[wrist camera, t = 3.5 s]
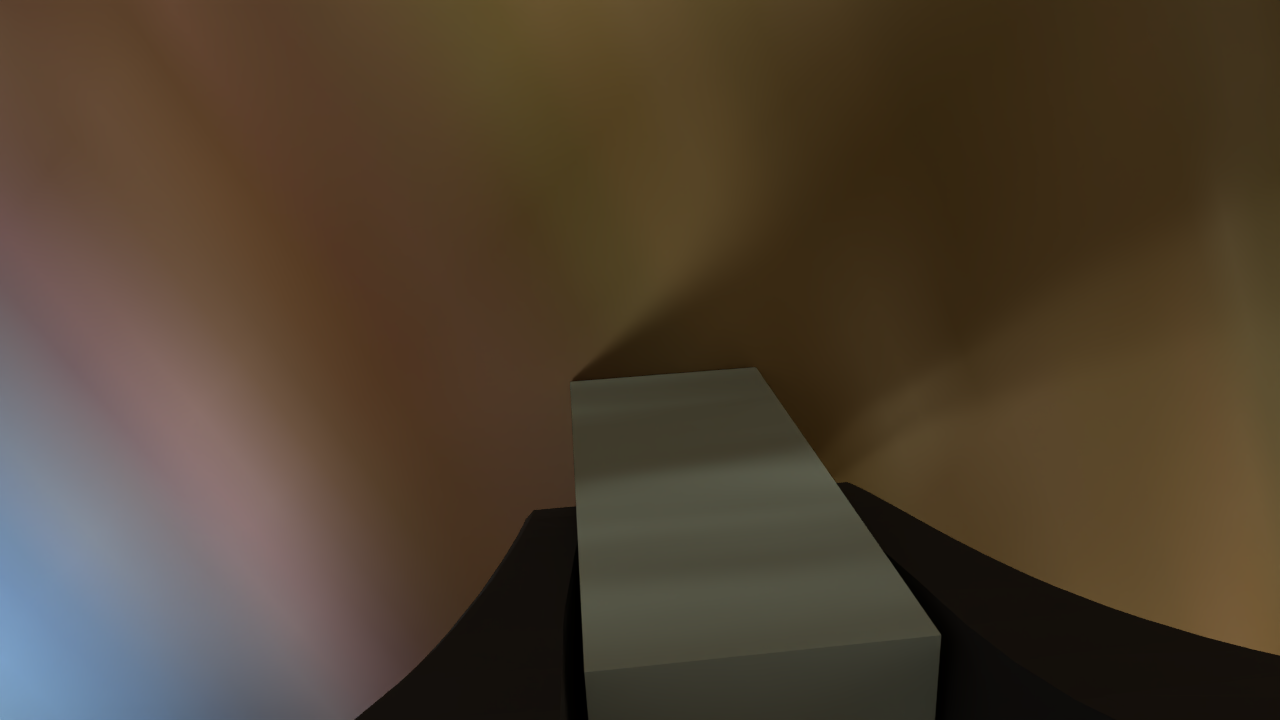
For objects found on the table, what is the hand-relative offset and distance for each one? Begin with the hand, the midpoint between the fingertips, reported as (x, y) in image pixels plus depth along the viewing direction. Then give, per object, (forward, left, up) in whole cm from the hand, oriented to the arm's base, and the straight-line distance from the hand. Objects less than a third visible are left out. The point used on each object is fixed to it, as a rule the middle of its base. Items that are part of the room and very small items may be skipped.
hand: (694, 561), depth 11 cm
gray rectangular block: (0, -9, -3) cm, 10 cm away
